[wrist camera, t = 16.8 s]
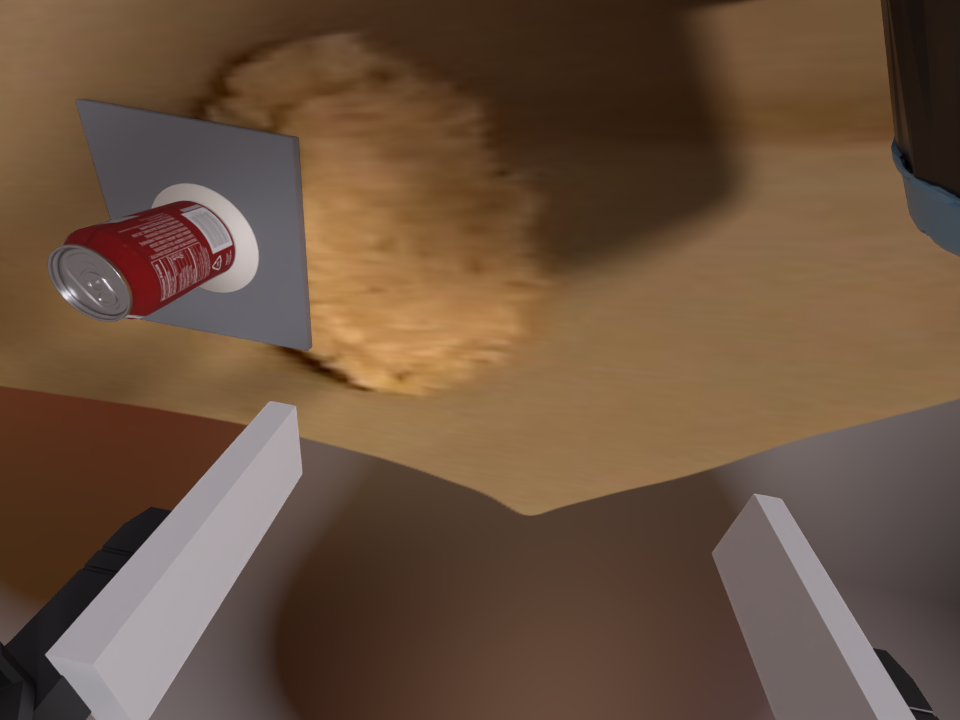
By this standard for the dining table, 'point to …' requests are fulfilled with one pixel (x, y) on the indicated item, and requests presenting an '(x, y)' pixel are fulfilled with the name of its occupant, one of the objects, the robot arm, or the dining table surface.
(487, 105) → the dining table surface
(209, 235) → the soda can
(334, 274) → the dining table surface
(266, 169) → the board
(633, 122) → the dining table surface
